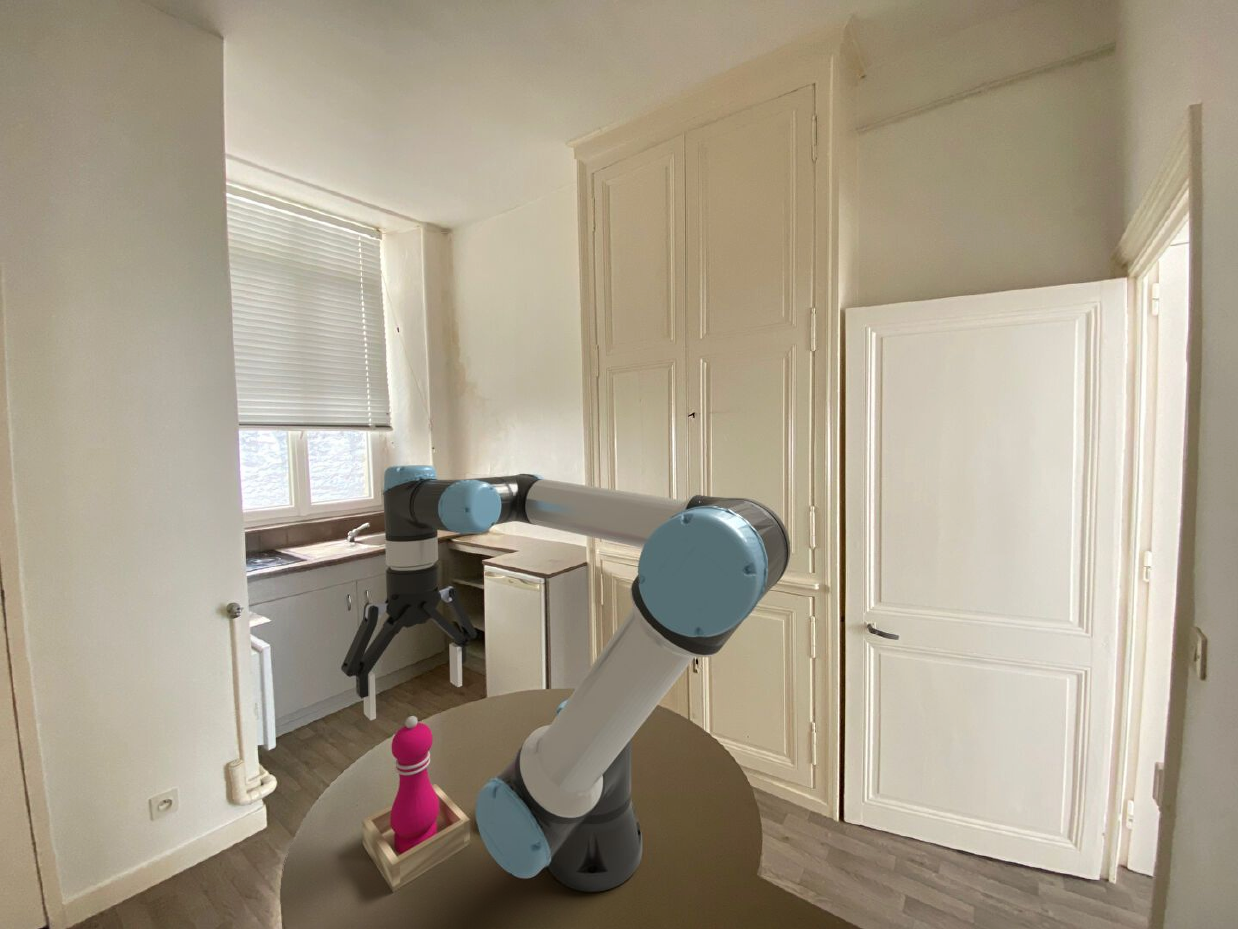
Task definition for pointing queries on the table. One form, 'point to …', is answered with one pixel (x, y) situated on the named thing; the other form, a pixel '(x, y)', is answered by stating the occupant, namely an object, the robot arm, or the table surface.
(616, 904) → the table surface
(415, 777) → the pepper mill
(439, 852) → the tray
